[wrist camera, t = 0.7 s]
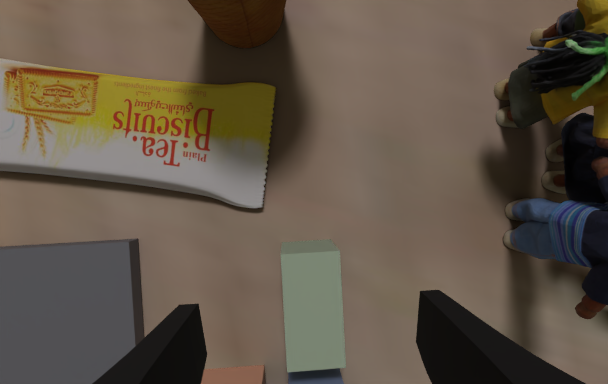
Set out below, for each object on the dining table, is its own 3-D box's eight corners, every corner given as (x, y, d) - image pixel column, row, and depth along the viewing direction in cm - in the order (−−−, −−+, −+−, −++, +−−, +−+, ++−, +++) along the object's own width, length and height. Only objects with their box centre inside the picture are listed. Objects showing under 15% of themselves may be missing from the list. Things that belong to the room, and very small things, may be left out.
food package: (276, 80, 25) (262, 210, 25) (277, 89, 27) (264, 208, 27) (-101, 31, 24) (-115, 169, 24) (-67, 44, 26) (-80, 170, 26)
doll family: (595, 269, 28) (870, 343, 15) (494, 287, 28) (683, 380, 14) (557, 1, 28) (806, -171, 14) (453, 16, 27) (611, -147, 14)
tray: (151, 459, 27) (143, 475, 25) (11, 471, 26) (-6, 489, 25) (138, 238, 26) (128, 241, 25) (-5, 247, 26) (-23, 250, 24)
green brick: (335, 334, 27) (345, 367, 22) (287, 338, 27) (287, 372, 22) (330, 239, 27) (339, 250, 22) (282, 242, 27) (280, 254, 22)
